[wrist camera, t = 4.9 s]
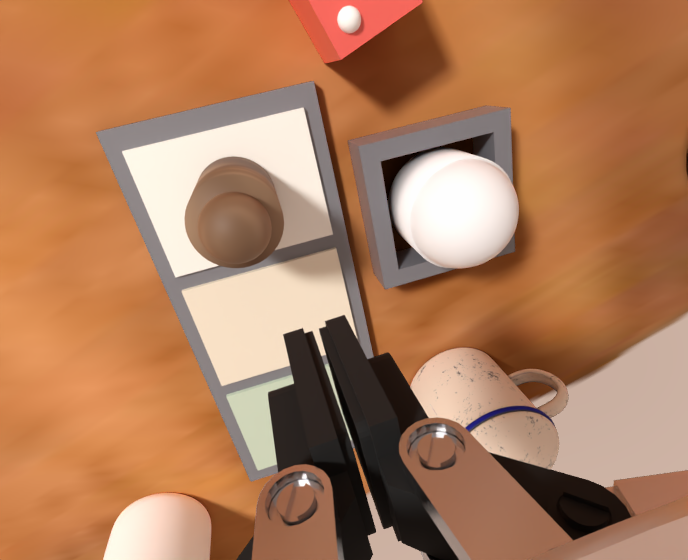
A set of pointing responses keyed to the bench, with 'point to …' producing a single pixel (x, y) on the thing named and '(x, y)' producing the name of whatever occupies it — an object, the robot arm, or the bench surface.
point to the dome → (453, 207)
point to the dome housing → (367, 152)
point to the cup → (161, 530)
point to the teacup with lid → (492, 404)
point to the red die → (347, 22)
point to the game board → (254, 281)
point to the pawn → (234, 213)
